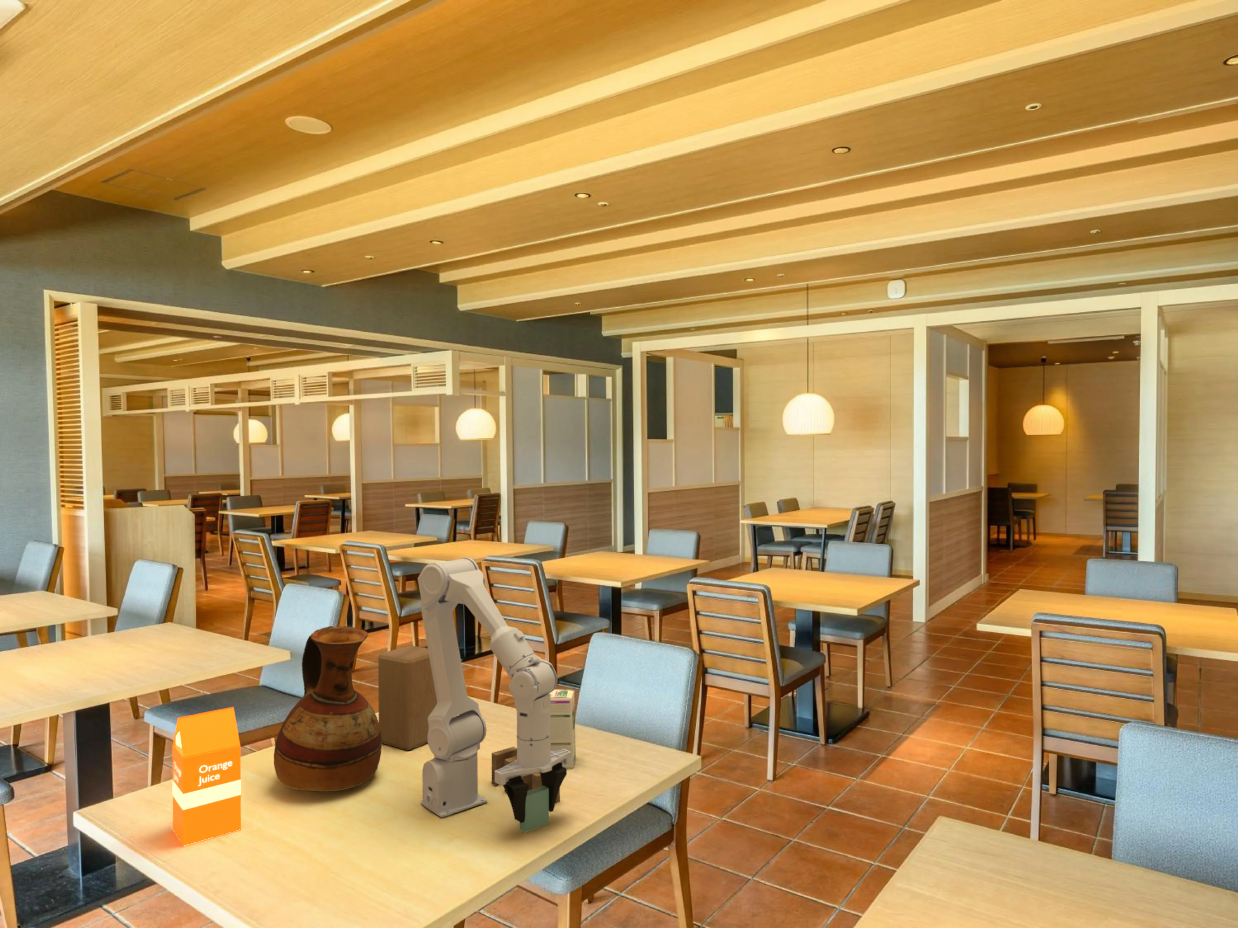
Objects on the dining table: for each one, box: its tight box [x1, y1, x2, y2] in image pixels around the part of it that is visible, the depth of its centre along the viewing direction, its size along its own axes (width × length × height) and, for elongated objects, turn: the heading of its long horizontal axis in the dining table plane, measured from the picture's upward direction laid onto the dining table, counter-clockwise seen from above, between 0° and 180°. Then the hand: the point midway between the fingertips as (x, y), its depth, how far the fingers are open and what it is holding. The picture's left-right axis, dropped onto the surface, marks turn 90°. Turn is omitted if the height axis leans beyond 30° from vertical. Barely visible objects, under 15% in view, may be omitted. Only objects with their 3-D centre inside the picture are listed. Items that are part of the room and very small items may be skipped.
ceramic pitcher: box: [273, 625, 383, 792], centre depth 151 cm, size 20×20×30 cm
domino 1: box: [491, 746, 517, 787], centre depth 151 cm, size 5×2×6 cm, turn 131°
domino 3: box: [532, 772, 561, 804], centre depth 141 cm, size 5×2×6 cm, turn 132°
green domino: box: [518, 786, 550, 833], centre depth 132 cm, size 5×2×6 cm, turn 132°
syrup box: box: [549, 688, 577, 769], centre depth 160 cm, size 6×6×14 cm
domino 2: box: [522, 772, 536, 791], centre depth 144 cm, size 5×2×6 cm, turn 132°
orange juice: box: [171, 706, 242, 847], centre depth 131 cm, size 8×9×20 cm
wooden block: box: [377, 645, 437, 751], centre depth 173 cm, size 10×10×20 cm
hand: (534, 814), depth 132 cm, fingers open, 5 cm apart
